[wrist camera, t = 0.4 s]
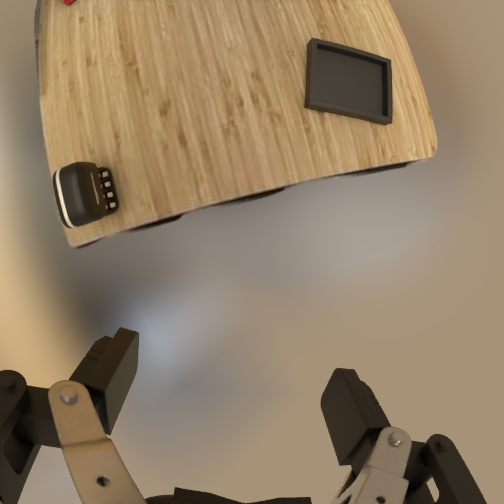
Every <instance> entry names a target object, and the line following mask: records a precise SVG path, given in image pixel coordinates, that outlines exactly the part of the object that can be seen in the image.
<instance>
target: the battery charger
mask: <svg viewBox="0 0 504 504" xmlns="http://www.w3.org/2000/svg"><path fill="white" fill-rule="evenodd" d="M53 186H54V191H55V196H56V201H57V205H58V209H59V213H60V216H61V219H62V222H63V223H64V225H65V226H66V227H68V228H78V227H82V226H85V225H87V224H90V223H92V222H94V221H97V220H99V219H102V218H103V217H107V216H108V215H111V214H113V213H115V212H116V211H117V210H118V207H119V204H118V199H117V195H116V190H115V186H114V182H113V178H112V174H111V171H110V170H109V169H108V168H104V167H101V168H97V166H96V164H94V163H91V162H76V163H72V164H70V165H68V166H64V167H61V168H59V169H58V170H57V171H56V172H55V173H54V175H53Z"/></svg>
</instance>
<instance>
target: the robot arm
mask: <svg viewBox="0 0 504 504" xmlns="http://www.w3.org/2000/svg"><path fill="white" fill-rule="evenodd" d="M138 346H139V333H138V332H136V331H132V330H128V329H125V328H119V330H118V331H117V333H116V334H115V336H114V337H113V338H111V337H108V336H104V337H103V338H101V339H99V340H97V341H96V342H95V343H94V344H93V346H92V347H91V349H90V351H88V353H87V354H86V357H84V358H83V360H82V361H81V363H80V364H79V366H78V367H77V368H76V370H75V371H74V373H73V374H72V376H71V377H70V378H69V380H64V381H59V382H57V383H55V384H53V385H52V386H51V387H50V388H49V389H48V388H47V389H46V388H39V387H34V386H28V385H27V383H26V380H25V378H24V377H23V376H22V375H21V374H20V373H18V372H16V371H13V370H3V371H0V504H17V503H18V500H19V498H20V495H21V492H22V490H23V487H24V484H25V482H26V479H27V477H28V475H29V472H30V470H31V468H32V465H33V463H34V461H35V459H36V456H37V454H38V452H39V449H40V447H41V445H45V446H50V447H57V448H61V449H62V452H63V455H64V458H65V461H66V464H67V467H68V469H69V472H70V475H71V477H72V480H73V482H74V485H75V487H76V489H77V492H78V494H79V497H80V499H81V501H82V503H83V504H312V502H311V498H310V497H296V498H275V499H270V500H266V501H259V502H253V503H241V502H238V501H234V500H231V499H227V498H224V497H221V496H218V495H215V494H212V493H207V492H200V491H193V490H188V489H182V488H177V487H175V490H174V495H159V496H154V497H149V498H146V499H144V498H143V496H142V495H141V493H140V491H139V489H138V488H137V486H136V485H135V483H134V481H133V479H132V478H131V476H130V474H129V472H128V470H127V469H126V467H125V465H124V463H123V461H122V459H121V457H120V455H119V453H118V451H117V449H116V447H115V445H114V444H113V442H112V440H111V439H108V438H107V436H106V434H108V435H111V432H112V429H113V427H114V424H115V422H116V420H117V417H118V415H119V413H120V410H121V408H122V405H123V403H124V401H125V398H126V396H127V394H128V391H129V389H130V387H131V384H132V382H133V380H134V377H135V375H136V371H137V365H138ZM321 409H322V412H323V415H324V418H325V422H326V425H327V428H328V431H329V434H330V437H331V440H332V443H333V446H334V449H335V453H336V455H337V459H338V462H339V465H340V466H342V465H351V467H352V469H351V470H350V471H349V473H348V474H347V476H346V478H345V480H344V482H343V483H342V485H341V487H340V489H339V490H338V492H337V494H336V496H335V497H334V499H333V501H332V502H331V504H487V503H486V501H485V499H484V497H483V495H482V493H481V491H480V489H479V488H478V486H477V484H476V482H475V480H474V479H473V477H472V475H471V473H470V471H469V470H468V468H467V466H466V464H465V462H464V461H463V459H462V457H461V455H460V454H459V452H458V450H457V449H456V447H455V445H454V443H453V442H452V441H451V440H450V439H449V438H448V437H446V436H444V435H440V434H434V435H432V436H431V437H430V438H429V439H428V440H427V442H426V443H424V442H416V441H411V439H410V437H409V435H408V434H407V433H406V432H405V431H403V430H402V429H400V428H397V427H392V426H391V425H390V423H389V421H388V419H387V417H386V415H385V413H384V412H383V410H382V408H381V406H380V405H379V402H378V401H377V399H376V398H375V395H374V394H373V392H372V390H371V388H370V387H369V386H368V385H366V384H365V383H364V382H363V381H360V379H359V377H358V375H357V373H356V372H355V370H354V369H344V368H337V369H335V370H334V372H333V374H332V376H331V378H330V380H329V382H328V384H327V386H326V388H325V391H324V392H323V394H322V397H321ZM432 477H433V479H434V481H435V483H436V486H437V488H438V490H439V498H438V500H437V502H434V500H433V497H432V495H431V493H430V490H429V488H428V486H427V482H428V481H429V480H430V479H431V478H432Z"/></svg>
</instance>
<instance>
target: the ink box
mask: <svg viewBox="0 0 504 504" xmlns="http://www.w3.org/2000/svg"><path fill="white" fill-rule="evenodd" d="M62 1H63V2H64V3H65V4H67V5H70V4H71V3H72V2H74V1H75V0H62Z"/></svg>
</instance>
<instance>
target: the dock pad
mask: <svg viewBox="0 0 504 504" xmlns="http://www.w3.org/2000/svg"><path fill="white" fill-rule="evenodd" d="M305 108H307V109H313V110H318V111H324V112H329V113H334V114H339V115H344V116H349V117H353V118H358V119H362V120H366V121H370V122H374V123H378V124H382V125H387V124H391V123H392V69H391V60H390V59H387V58H384V57H381V56H378V55H375V54H372V53H369V52H365V51H362V50H359V49H355V48H352V47H348V46H344V45H341V44H337V43H333V42H329V41H324V40H320V39H315V38H311V40H310V41H309V43H308V49H307V76H306V98H305Z"/></svg>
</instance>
